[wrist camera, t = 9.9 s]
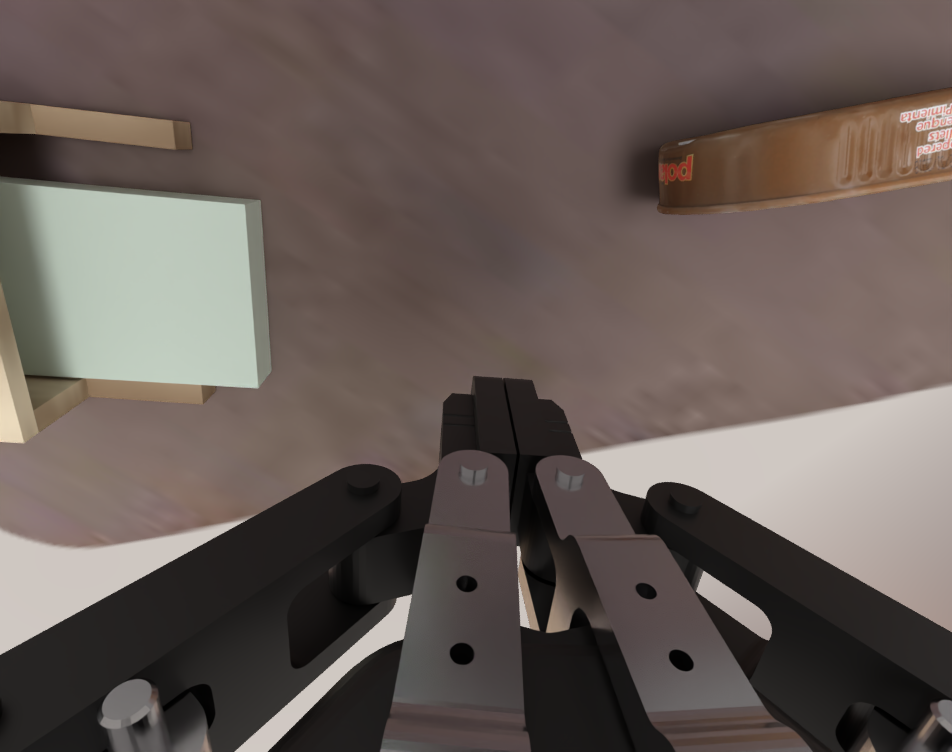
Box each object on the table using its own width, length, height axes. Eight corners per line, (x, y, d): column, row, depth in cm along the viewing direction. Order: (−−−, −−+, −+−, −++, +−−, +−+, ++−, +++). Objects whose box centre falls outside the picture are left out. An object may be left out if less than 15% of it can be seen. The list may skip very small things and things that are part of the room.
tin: (628, 209, 24) (718, 241, 16) (626, 134, 22) (722, 128, 15) (960, 152, 24) (1212, 156, 16) (976, 73, 22) (1258, 35, 15)
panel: (-111, 164, 22) (-177, 166, 19) (264, 199, 23) (244, 204, 21) (-54, 346, 25) (-104, 367, 22) (274, 367, 26) (258, 388, 24)
